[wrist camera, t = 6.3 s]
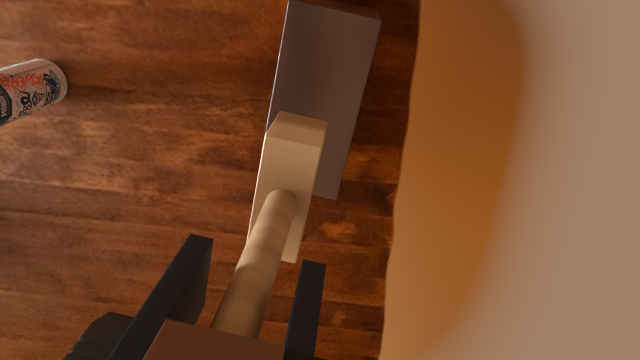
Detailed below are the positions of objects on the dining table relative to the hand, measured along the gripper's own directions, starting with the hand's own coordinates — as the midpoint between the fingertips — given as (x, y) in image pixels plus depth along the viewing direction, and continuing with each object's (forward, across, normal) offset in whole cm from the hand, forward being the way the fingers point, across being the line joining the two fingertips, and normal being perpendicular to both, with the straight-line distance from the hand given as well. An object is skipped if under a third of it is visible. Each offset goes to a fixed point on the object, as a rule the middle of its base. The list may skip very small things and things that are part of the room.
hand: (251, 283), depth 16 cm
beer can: (+36, -29, -7) cm, 47 cm away
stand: (+36, 0, 0) cm, 36 cm away
